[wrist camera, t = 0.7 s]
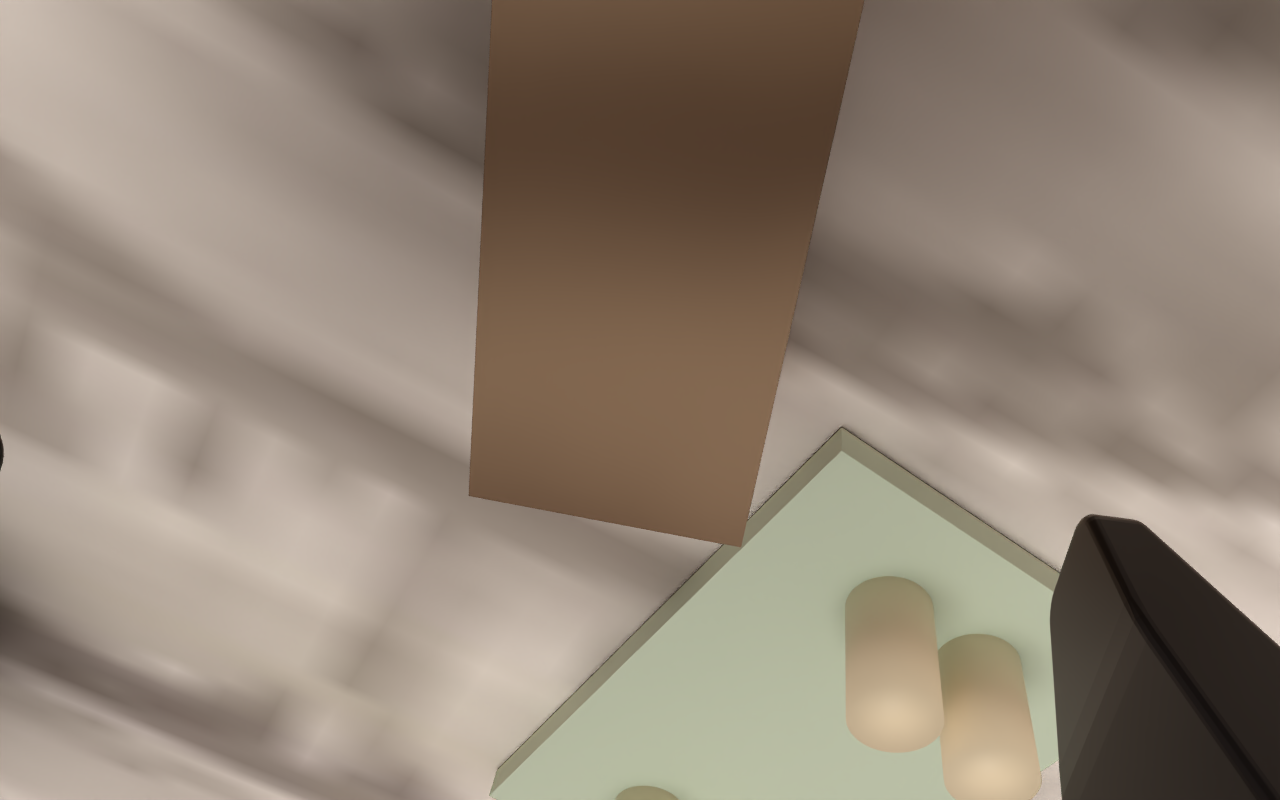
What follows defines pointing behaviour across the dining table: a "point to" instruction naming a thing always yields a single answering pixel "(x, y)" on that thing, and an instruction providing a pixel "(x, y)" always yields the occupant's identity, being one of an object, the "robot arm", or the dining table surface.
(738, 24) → the brown rectangular block
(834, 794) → the strip
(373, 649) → the dining table surface
